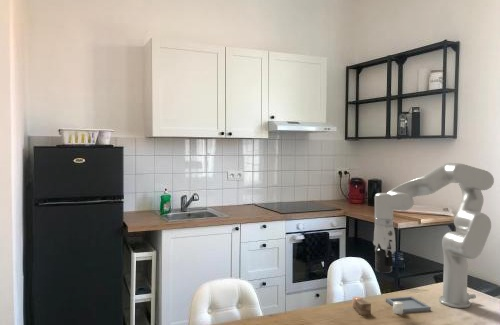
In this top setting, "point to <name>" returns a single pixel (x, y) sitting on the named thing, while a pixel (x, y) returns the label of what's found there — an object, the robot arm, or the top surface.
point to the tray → (409, 304)
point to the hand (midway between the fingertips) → (383, 263)
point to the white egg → (398, 307)
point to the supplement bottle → (381, 261)
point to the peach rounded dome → (355, 301)
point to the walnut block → (363, 307)
